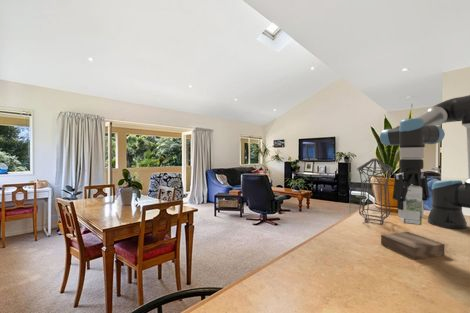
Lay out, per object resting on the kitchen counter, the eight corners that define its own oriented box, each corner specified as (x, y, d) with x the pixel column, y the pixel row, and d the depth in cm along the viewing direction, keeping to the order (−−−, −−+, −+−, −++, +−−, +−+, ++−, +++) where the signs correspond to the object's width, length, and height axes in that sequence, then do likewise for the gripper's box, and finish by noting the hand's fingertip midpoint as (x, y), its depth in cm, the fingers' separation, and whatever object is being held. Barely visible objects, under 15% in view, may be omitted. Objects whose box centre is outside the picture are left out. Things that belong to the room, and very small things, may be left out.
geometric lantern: (392, 221, 128) (393, 158, 127) (388, 228, 116) (389, 159, 115) (361, 215, 138) (361, 157, 137) (354, 222, 127) (355, 158, 125)
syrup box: (417, 221, 92) (417, 185, 92) (422, 225, 87) (422, 187, 86) (400, 219, 94) (400, 184, 94) (403, 223, 89) (403, 186, 89)
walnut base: (408, 241, 99) (408, 231, 99) (444, 255, 85) (444, 244, 85) (381, 244, 96) (381, 234, 96) (414, 259, 82) (414, 248, 82)
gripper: (421, 158, 96) (421, 213, 96) (381, 158, 91) (381, 216, 92) (441, 158, 89) (441, 217, 89) (398, 159, 84) (398, 221, 84)
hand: (410, 217), depth 90 cm, fingers closed on syrup box, 8 cm apart
